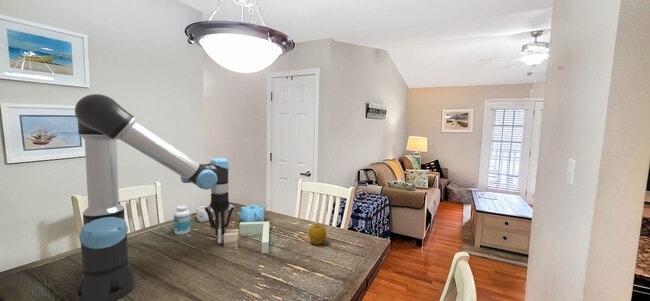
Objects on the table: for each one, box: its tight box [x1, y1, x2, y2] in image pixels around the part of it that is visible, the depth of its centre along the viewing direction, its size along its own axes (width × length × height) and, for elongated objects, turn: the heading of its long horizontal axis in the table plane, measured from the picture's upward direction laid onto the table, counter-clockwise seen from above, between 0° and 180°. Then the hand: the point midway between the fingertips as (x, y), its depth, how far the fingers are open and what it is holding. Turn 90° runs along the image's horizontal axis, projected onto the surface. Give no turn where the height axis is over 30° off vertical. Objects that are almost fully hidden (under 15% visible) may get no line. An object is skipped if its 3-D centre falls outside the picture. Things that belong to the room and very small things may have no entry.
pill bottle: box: [173, 205, 191, 236], centre depth 137 cm, size 8×7×14 cm
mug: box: [195, 205, 215, 223], centre depth 155 cm, size 12×8×8 cm
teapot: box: [237, 204, 269, 222], centre depth 150 cm, size 16×18×11 cm
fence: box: [238, 220, 270, 254], centre depth 129 cm, size 26×15×5 cm, turn 11°
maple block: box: [223, 228, 240, 248], centre depth 125 cm, size 6×6×6 cm
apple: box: [308, 224, 327, 246], centre depth 129 cm, size 9×8×9 cm
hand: (220, 241), depth 125 cm, fingers closed
